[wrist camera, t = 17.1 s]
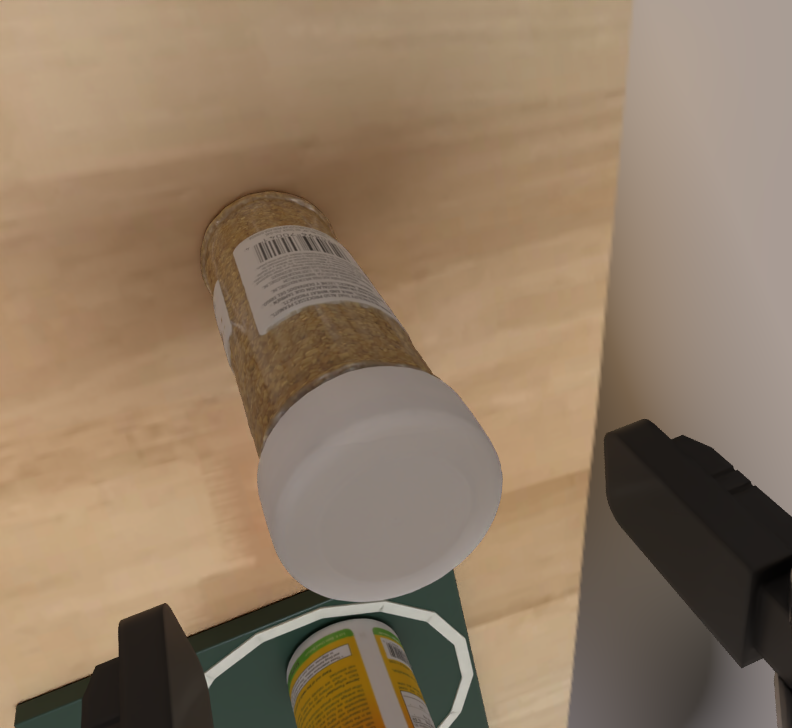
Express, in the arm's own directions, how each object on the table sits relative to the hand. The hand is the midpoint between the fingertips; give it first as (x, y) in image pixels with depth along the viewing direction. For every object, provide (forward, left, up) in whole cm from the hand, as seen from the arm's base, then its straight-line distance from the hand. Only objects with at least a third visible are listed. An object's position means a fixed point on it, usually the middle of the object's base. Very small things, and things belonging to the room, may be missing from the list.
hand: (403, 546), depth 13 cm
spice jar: (0, 0, -14) cm, 14 cm away
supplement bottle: (+2, +20, -13) cm, 24 cm away
